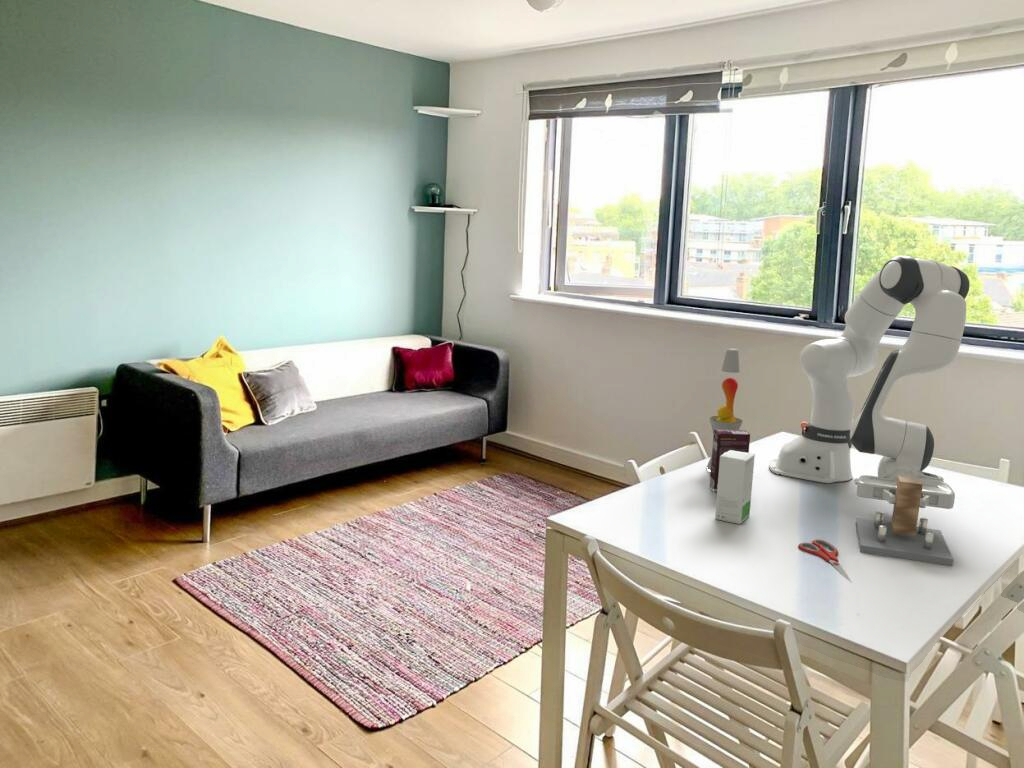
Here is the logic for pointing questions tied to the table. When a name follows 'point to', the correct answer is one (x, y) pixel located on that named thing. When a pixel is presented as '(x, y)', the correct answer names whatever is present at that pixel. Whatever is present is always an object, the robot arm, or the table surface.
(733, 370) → the lava lamp
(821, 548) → the scissors
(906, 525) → the oak block
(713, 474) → the supplement box
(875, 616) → the table surface
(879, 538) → the standoff pins
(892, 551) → the plate
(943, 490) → the robot arm
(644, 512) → the table surface
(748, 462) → the skincare box
